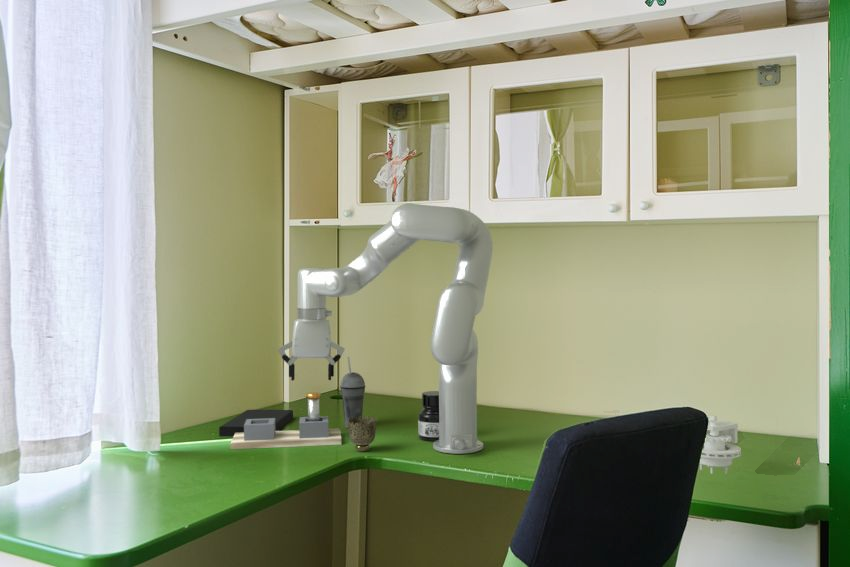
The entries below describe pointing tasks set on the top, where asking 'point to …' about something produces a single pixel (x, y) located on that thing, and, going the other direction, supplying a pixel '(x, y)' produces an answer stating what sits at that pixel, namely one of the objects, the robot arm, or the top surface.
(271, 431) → the dock socket
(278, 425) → the external hard drive
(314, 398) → the pin
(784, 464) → the top surface
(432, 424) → the ink bottle
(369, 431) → the cup
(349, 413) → the beverage cup
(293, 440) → the dock board
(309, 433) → the lock mount
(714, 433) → the mechanical part
